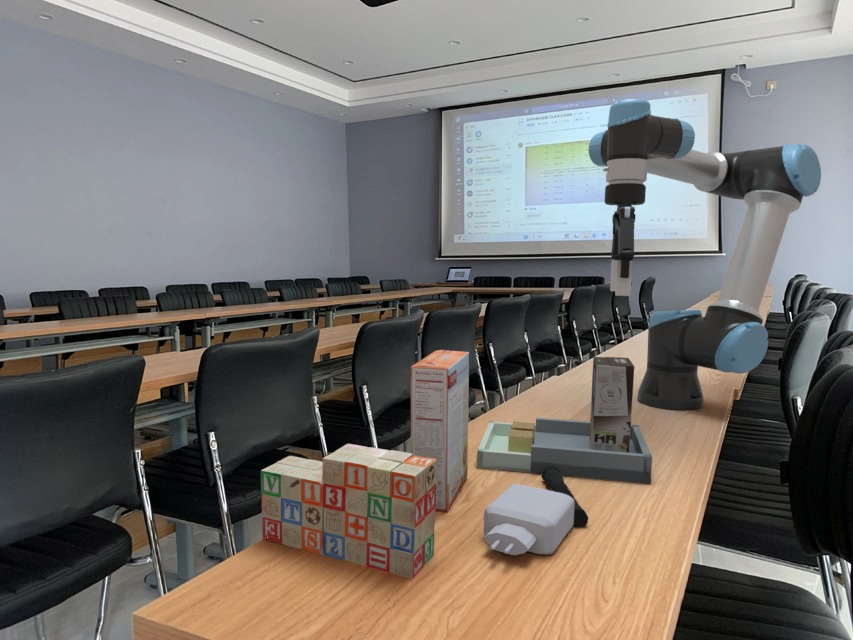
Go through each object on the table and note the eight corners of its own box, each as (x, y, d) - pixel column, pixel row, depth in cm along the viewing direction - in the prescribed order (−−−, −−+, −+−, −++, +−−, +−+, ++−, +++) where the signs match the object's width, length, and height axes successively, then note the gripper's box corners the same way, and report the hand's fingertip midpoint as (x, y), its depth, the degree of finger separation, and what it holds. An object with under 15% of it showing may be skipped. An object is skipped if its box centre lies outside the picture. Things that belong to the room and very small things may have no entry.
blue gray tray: (637, 448, 115) (638, 425, 115) (650, 484, 98) (652, 457, 97) (535, 439, 120) (536, 417, 119) (530, 472, 102) (531, 446, 101)
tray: (535, 439, 120) (536, 425, 119) (530, 472, 102) (530, 455, 101) (489, 436, 121) (490, 421, 121) (476, 467, 104) (477, 450, 103)
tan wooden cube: (534, 443, 115) (534, 423, 115) (532, 450, 111) (533, 429, 111) (512, 441, 116) (513, 421, 116) (510, 448, 112) (511, 427, 112)
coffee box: (630, 460, 103) (635, 366, 101) (590, 457, 104) (595, 363, 102) (625, 444, 111) (629, 357, 110) (588, 441, 113) (592, 355, 111)
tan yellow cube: (531, 452, 110) (532, 431, 110) (531, 460, 106) (531, 437, 106) (509, 450, 111) (510, 429, 110) (507, 458, 107) (508, 435, 107)
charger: (462, 560, 73) (508, 514, 86) (536, 581, 69) (573, 529, 82) (463, 522, 73) (510, 481, 86) (537, 541, 68) (575, 495, 81)
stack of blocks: (260, 540, 77) (259, 446, 76) (290, 521, 83) (289, 432, 81) (414, 580, 68) (415, 474, 67) (435, 555, 74) (437, 456, 73)
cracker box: (432, 473, 101) (435, 348, 98) (468, 478, 99) (471, 350, 97) (407, 507, 87) (409, 363, 85) (448, 513, 86) (451, 366, 83)
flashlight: (559, 483, 98) (560, 465, 98) (589, 530, 82) (590, 508, 82) (540, 483, 98) (541, 465, 98) (566, 530, 82) (567, 508, 82)
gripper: (601, 190, 131) (596, 289, 133) (609, 176, 107) (603, 297, 109) (638, 190, 129) (632, 290, 132) (655, 175, 105) (648, 298, 108)
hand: (619, 293), depth 121 cm, fingers open, 13 cm apart
